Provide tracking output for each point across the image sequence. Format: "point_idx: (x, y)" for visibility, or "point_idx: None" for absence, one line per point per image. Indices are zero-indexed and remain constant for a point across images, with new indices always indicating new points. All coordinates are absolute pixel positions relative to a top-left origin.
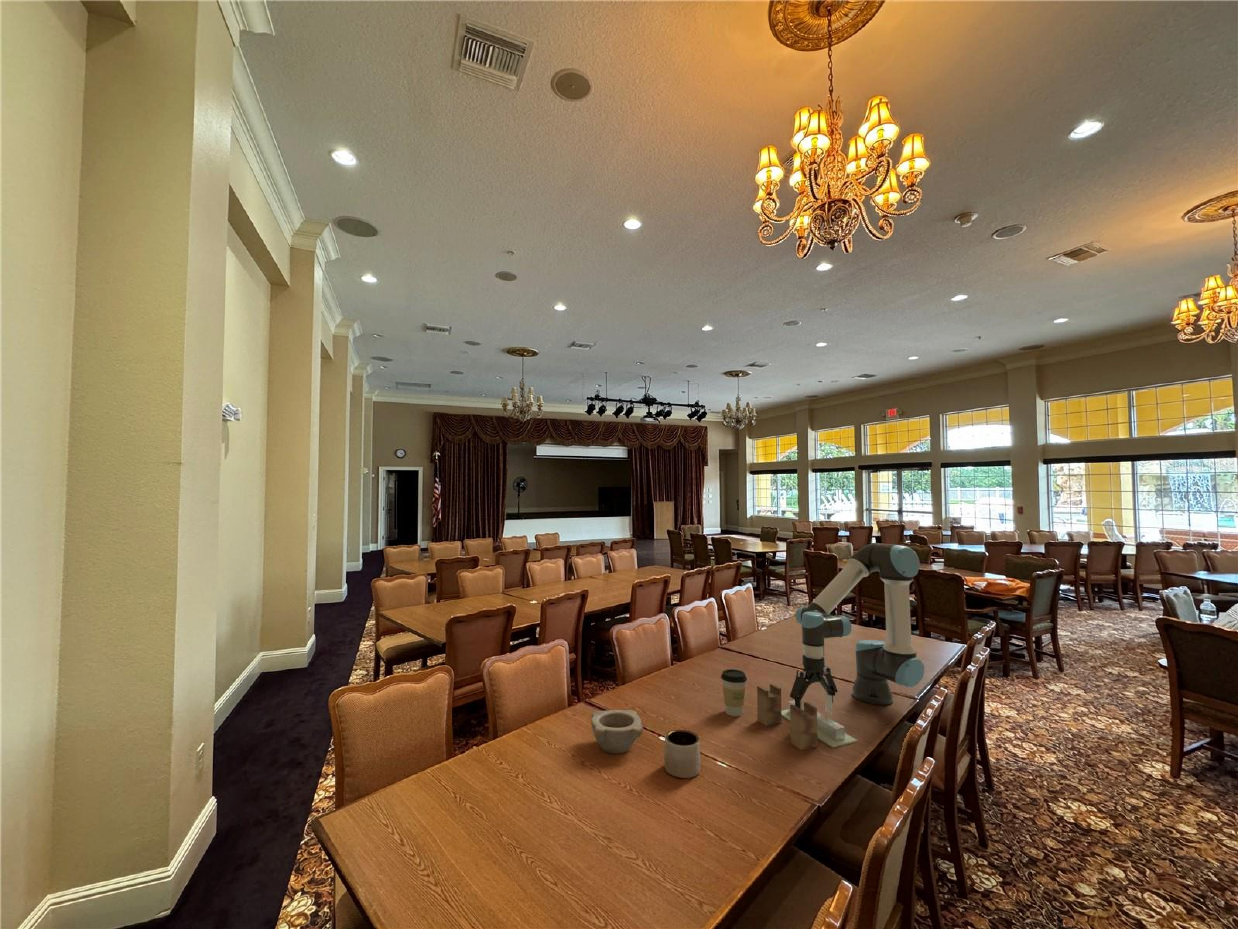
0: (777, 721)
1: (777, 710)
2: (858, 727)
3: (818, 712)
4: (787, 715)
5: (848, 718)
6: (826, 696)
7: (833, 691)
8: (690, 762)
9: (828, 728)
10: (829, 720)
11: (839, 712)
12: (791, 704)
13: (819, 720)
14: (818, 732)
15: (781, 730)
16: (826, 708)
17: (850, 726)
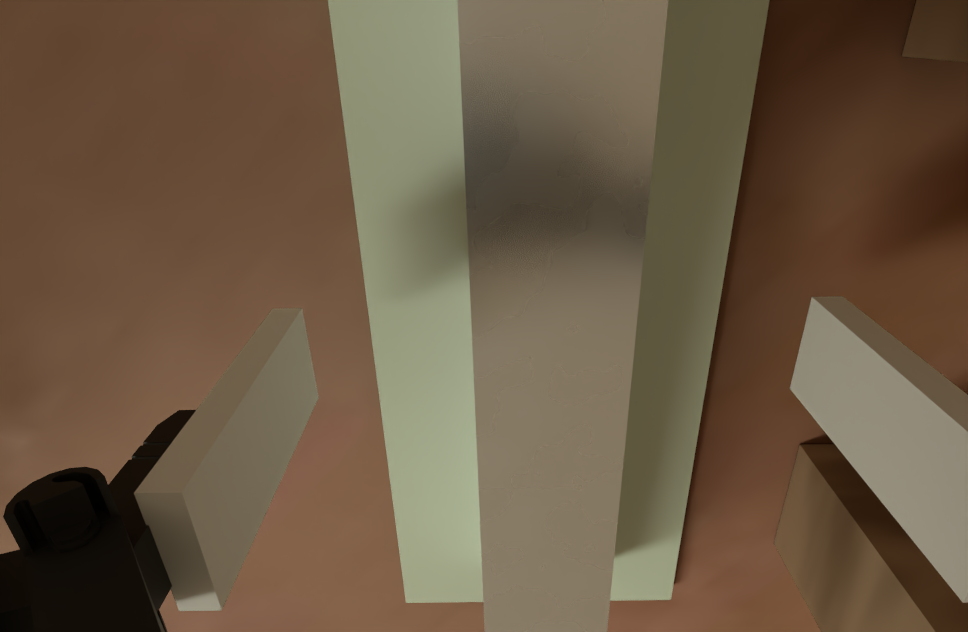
0: None
1: None
2: (20, 102)
3: (473, 371)
4: (647, 524)
5: (27, 321)
6: (230, 538)
7: (5, 586)
8: None
9: None
10: (516, 99)
11: (57, 445)
12: (605, 615)
13: (646, 179)
14: (657, 123)
15: (945, 332)
16: (301, 403)
17: (112, 158)
